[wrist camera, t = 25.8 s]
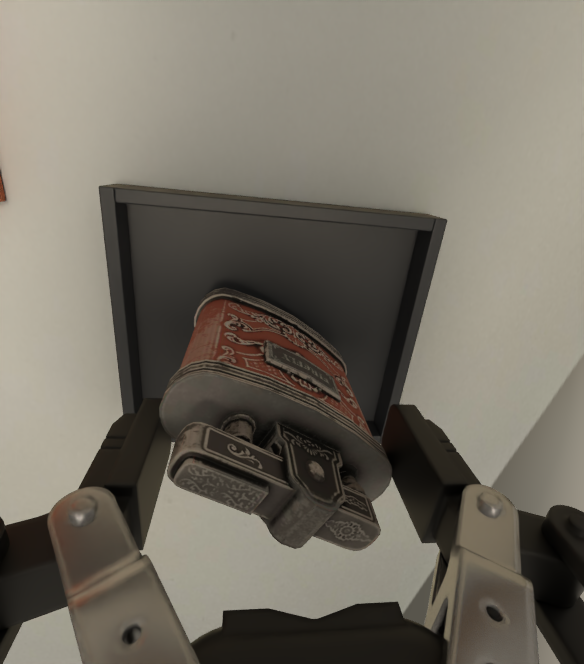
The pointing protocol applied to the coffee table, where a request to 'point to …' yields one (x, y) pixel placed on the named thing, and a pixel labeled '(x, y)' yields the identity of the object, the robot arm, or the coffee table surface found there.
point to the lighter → (273, 425)
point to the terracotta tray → (1, 191)
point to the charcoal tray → (267, 280)
